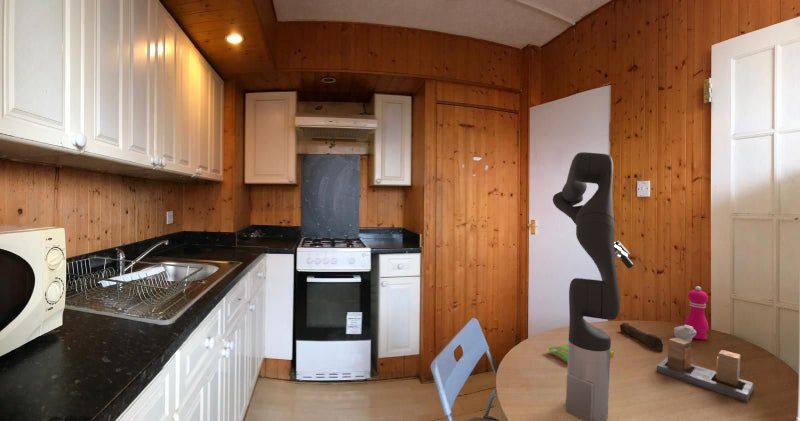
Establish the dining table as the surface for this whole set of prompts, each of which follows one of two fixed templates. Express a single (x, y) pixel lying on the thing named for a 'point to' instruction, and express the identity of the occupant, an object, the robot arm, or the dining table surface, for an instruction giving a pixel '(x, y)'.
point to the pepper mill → (698, 313)
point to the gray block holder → (715, 376)
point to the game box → (566, 352)
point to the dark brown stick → (643, 336)
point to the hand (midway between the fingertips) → (622, 267)
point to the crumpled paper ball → (685, 332)
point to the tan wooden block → (679, 354)
